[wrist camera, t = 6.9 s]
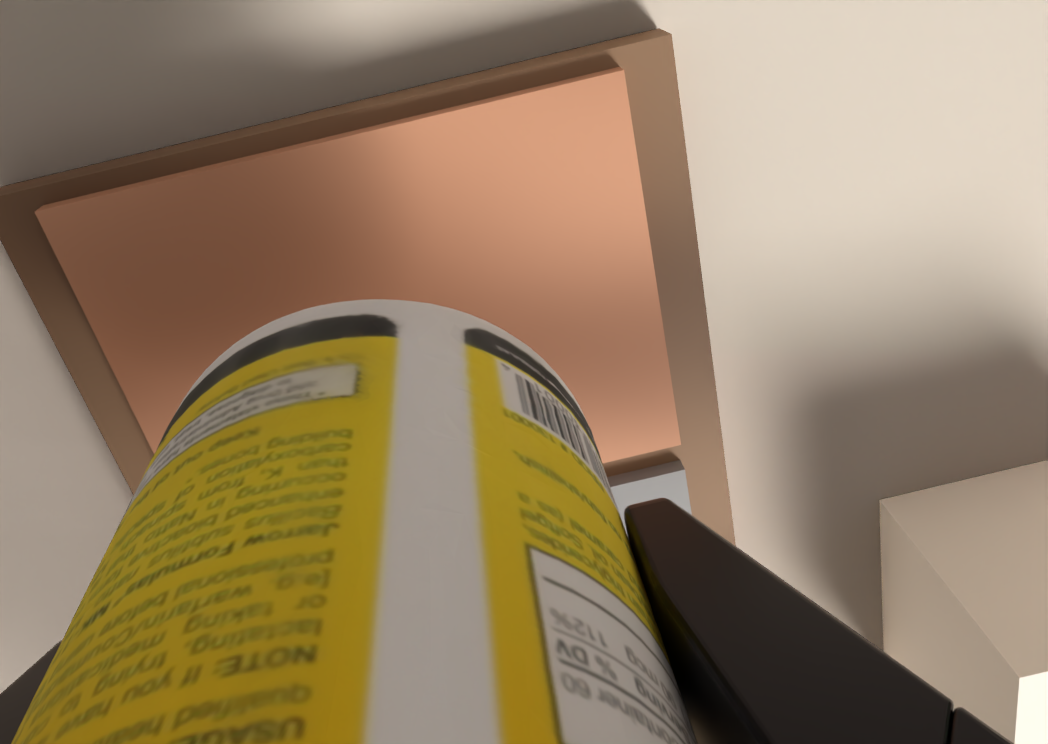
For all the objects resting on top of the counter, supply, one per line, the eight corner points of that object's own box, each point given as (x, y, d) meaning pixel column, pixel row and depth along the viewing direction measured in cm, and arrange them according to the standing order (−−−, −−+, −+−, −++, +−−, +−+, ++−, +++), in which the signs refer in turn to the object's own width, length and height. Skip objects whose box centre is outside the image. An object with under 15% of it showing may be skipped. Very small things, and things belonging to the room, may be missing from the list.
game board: (768, 863, 21) (783, 904, 21) (389, 952, 22) (387, 996, 21) (658, 27, 12) (676, 36, 11) (2, 186, 12) (-31, 206, 12)
